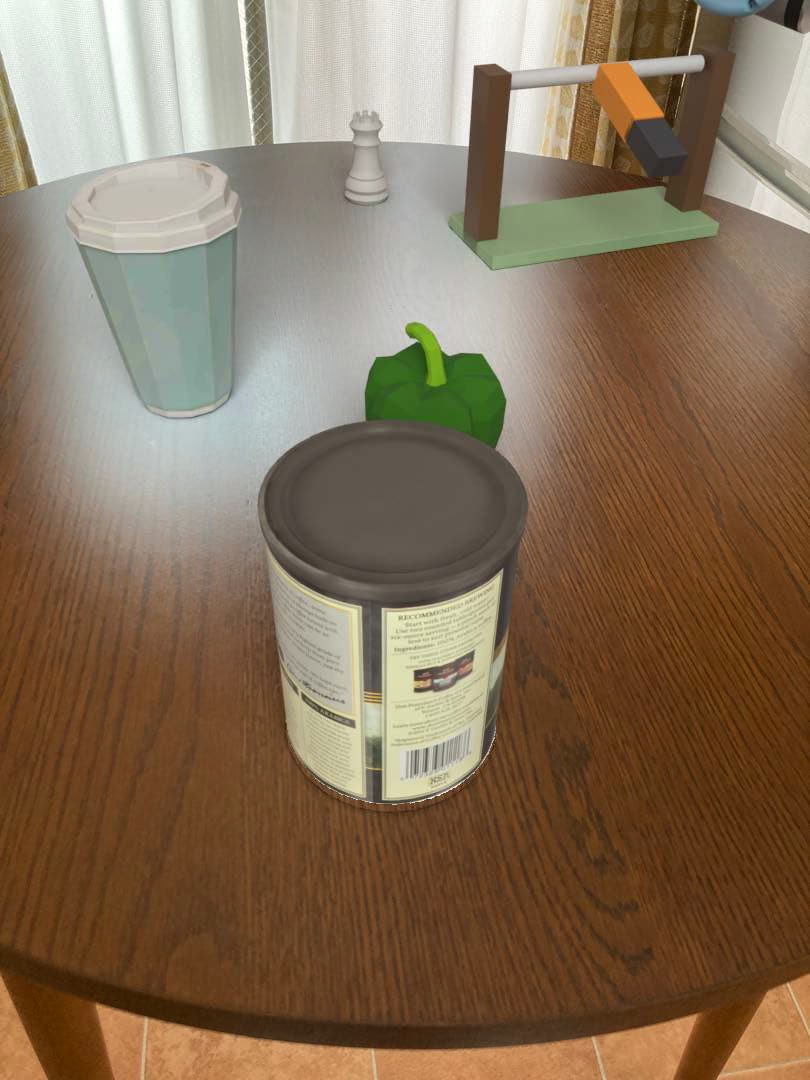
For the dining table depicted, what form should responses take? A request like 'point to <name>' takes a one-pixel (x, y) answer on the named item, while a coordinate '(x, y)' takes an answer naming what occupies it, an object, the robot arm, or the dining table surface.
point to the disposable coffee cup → (165, 276)
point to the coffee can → (392, 602)
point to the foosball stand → (595, 217)
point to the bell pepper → (436, 388)
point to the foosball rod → (627, 104)
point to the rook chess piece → (366, 162)
